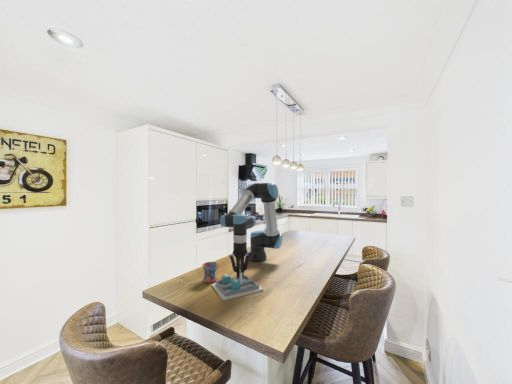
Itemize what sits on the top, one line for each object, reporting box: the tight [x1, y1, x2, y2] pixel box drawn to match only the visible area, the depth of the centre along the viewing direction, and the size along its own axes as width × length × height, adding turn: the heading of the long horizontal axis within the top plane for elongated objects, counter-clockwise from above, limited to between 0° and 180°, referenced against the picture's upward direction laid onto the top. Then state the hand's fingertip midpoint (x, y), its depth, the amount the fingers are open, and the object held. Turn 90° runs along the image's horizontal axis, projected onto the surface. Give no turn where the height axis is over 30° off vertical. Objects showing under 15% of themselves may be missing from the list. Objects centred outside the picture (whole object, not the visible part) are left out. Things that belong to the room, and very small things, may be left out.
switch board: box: [211, 274, 264, 302], centre depth 125 cm, size 24×20×3 cm
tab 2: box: [231, 279, 240, 290], centre depth 120 cm, size 4×4×6 cm
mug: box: [201, 261, 219, 284], centre depth 136 cm, size 12×9×11 cm
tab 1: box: [221, 273, 232, 285], centre depth 127 cm, size 4×4×6 cm
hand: (240, 283), depth 121 cm, fingers closed
